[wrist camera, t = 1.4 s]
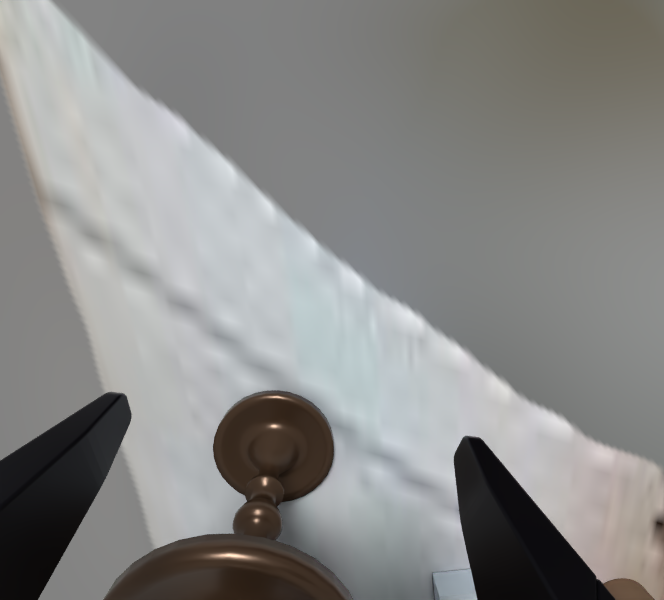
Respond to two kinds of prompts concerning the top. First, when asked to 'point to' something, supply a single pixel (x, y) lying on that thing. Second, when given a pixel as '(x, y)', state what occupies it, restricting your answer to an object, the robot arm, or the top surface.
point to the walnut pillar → (627, 590)
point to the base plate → (454, 585)
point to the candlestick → (249, 513)
